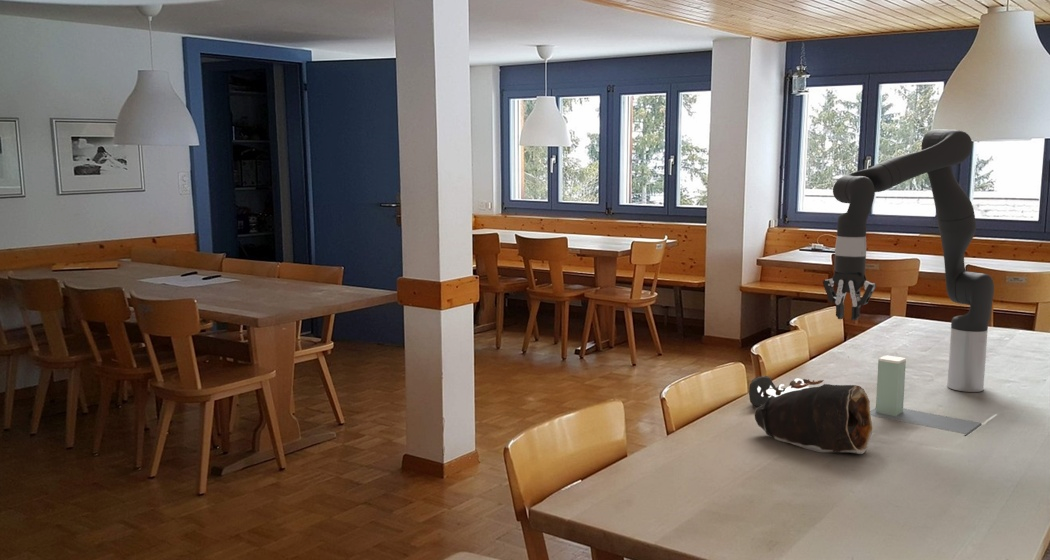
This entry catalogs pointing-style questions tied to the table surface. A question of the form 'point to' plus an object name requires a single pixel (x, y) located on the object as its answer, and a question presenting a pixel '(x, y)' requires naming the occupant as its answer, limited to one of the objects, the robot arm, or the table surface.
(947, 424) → the slate mat
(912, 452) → the table surface
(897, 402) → the sage block
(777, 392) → the figurine
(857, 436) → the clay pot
